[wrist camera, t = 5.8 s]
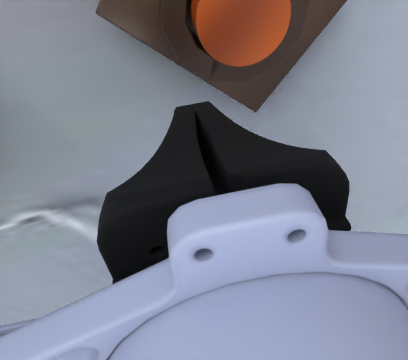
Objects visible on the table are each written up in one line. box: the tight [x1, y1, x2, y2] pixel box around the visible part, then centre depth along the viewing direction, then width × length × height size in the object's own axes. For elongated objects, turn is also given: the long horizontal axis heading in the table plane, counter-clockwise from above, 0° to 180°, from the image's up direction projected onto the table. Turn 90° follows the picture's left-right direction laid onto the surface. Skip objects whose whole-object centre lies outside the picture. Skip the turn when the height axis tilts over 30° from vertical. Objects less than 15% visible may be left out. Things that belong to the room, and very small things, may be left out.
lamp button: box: [191, 0, 291, 67], centre depth 17 cm, size 4×4×2 cm
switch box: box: [96, 0, 347, 112], centre depth 19 cm, size 11×8×4 cm
